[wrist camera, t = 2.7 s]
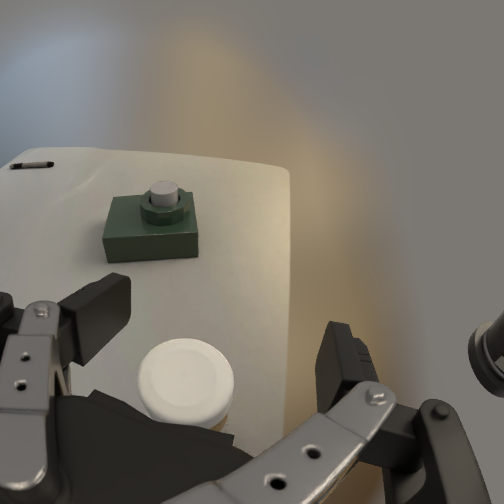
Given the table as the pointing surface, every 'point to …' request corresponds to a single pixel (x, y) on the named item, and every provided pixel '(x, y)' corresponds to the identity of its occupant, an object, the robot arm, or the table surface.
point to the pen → (32, 165)
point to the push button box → (150, 229)
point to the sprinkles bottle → (186, 384)
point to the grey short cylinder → (164, 194)
